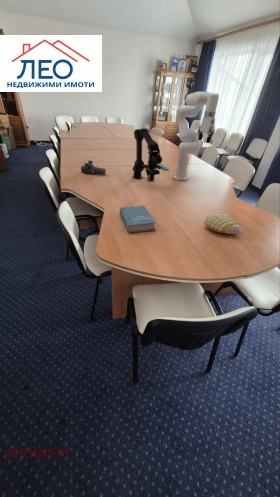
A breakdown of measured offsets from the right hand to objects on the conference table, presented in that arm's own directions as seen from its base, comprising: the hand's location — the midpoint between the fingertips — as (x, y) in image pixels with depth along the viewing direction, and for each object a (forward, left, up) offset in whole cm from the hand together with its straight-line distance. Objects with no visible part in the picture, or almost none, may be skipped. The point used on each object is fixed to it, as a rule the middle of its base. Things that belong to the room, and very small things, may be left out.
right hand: (203, 141), depth 164 cm
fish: (+44, +46, -38) cm, 74 cm away
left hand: (+23, -30, -32) cm, 49 cm away
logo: (-34, -62, -38) cm, 80 cm away
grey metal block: (+23, -30, -33) cm, 50 cm away
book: (+76, +4, -38) cm, 85 cm away
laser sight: (+39, -84, -38) cm, 100 cm away
